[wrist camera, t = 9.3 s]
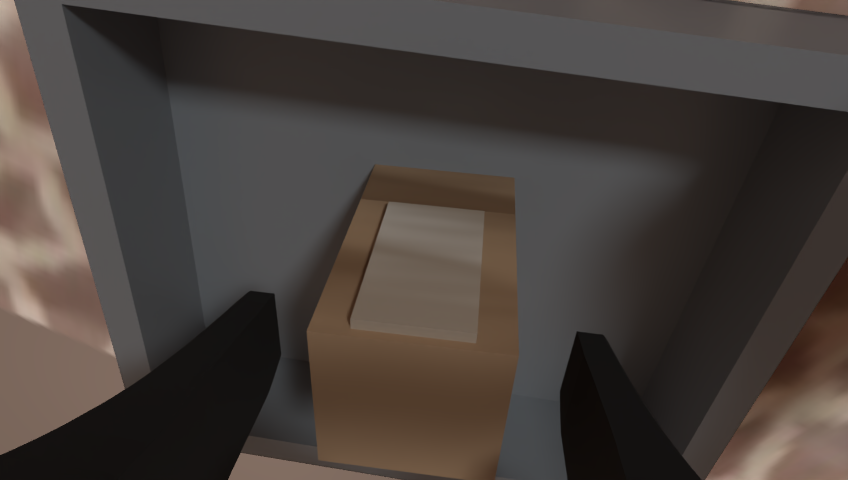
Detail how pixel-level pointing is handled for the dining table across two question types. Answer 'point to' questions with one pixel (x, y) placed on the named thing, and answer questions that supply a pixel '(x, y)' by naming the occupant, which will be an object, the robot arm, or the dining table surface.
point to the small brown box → (419, 326)
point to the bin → (467, 153)
